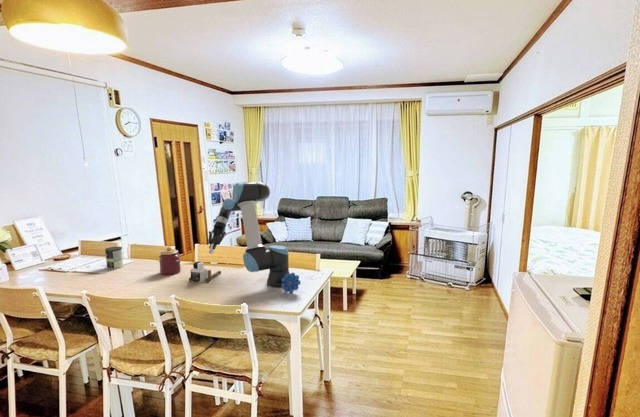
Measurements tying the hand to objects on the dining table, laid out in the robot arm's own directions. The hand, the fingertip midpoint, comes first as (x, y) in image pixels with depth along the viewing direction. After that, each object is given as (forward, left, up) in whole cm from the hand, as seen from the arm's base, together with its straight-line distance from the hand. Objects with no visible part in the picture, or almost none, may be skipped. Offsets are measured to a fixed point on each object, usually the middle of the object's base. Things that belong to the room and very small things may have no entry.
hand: (210, 253), depth 222 cm
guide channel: (-5, +7, -14) cm, 16 cm away
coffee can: (+65, +38, -14) cm, 77 cm away
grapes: (-66, -12, -14) cm, 68 cm away
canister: (+23, +17, -14) cm, 32 cm away
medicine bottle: (-8, +13, -14) cm, 21 cm away
